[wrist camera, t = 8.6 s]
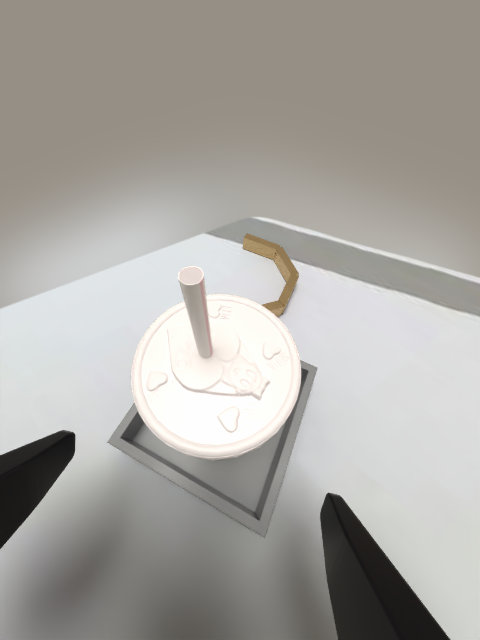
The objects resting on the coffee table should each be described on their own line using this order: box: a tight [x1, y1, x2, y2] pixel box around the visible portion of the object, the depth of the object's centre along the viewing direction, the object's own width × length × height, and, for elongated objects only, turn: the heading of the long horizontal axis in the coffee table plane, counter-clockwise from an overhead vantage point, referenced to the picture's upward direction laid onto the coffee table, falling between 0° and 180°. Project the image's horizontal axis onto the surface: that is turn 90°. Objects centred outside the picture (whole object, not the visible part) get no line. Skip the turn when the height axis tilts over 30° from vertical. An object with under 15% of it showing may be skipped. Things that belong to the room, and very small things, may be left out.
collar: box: [243, 234, 299, 317], centre depth 23 cm, size 10×7×2 cm
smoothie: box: [131, 266, 301, 461], centre depth 11 cm, size 6×6×14 cm
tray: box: [107, 360, 317, 538], centre depth 16 cm, size 10×10×3 cm
